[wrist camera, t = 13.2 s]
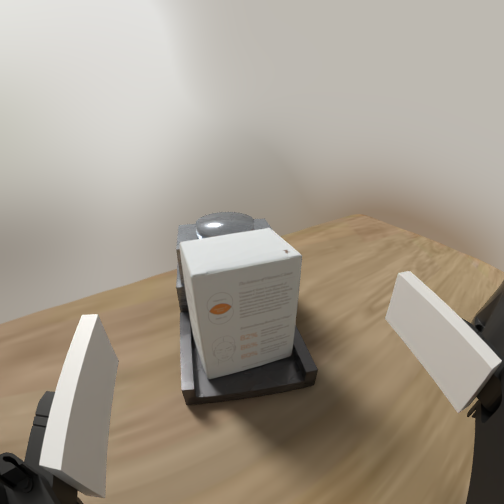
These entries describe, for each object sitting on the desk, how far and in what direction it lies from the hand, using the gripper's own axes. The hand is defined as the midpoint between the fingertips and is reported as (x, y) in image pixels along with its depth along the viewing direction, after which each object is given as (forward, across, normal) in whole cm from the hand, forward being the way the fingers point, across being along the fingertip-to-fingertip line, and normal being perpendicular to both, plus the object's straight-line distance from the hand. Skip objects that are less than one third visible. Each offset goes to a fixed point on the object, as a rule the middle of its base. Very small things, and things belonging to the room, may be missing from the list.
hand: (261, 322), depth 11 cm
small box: (+10, 0, -12) cm, 16 cm away
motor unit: (+14, 0, -13) cm, 19 cm away
